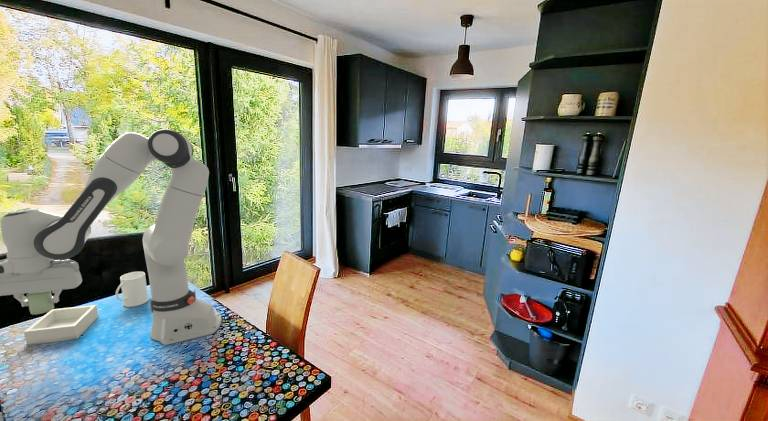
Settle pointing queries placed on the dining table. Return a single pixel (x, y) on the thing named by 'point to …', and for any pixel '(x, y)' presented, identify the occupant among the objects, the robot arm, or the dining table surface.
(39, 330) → the bin
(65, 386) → the dining table surface
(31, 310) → the pale green rounded piece
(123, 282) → the mug
